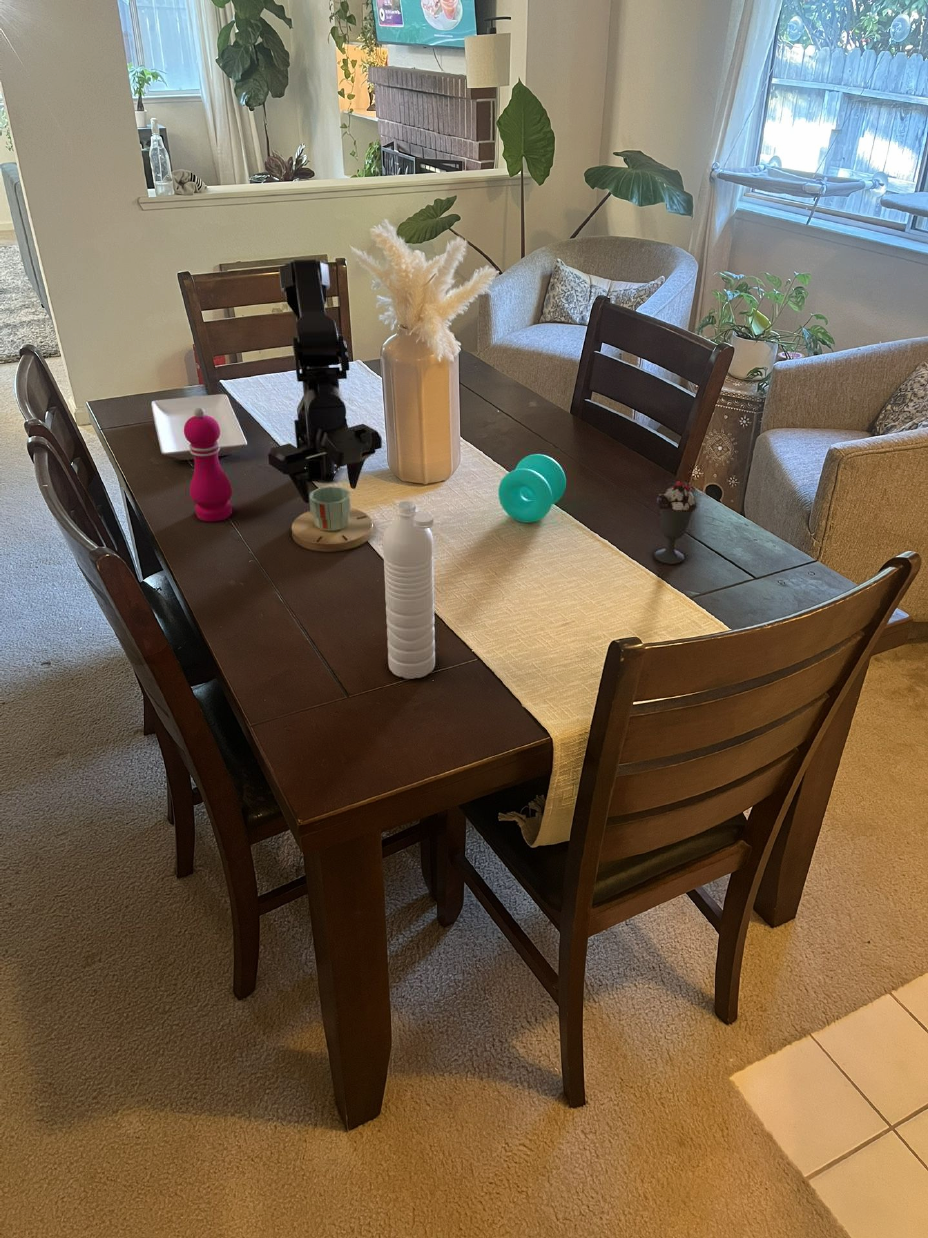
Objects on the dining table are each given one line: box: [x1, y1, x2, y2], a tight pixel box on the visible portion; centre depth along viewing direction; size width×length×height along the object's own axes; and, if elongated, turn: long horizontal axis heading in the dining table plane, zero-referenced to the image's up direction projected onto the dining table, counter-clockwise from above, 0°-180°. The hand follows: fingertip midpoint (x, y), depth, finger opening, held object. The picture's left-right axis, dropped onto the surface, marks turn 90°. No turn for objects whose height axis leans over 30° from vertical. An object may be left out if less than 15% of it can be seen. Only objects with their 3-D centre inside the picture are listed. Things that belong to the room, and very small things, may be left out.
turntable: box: [291, 507, 374, 553], centre depth 160 cm, size 14×14×2 cm
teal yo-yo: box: [497, 453, 567, 524], centre depth 164 cm, size 10×10×10 cm
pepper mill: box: [184, 407, 233, 523], centre depth 160 cm, size 7×7×20 cm
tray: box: [150, 393, 248, 461], centre depth 195 cm, size 17×31×4 cm, turn 20°
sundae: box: [653, 471, 699, 565], centre depth 150 cm, size 7×7×15 cm
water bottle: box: [382, 500, 436, 680], centre depth 120 cm, size 9×6×25 cm
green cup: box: [309, 485, 352, 531], centre depth 158 cm, size 7×7×6 cm
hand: (330, 495), depth 156 cm, fingers open, 9 cm apart
